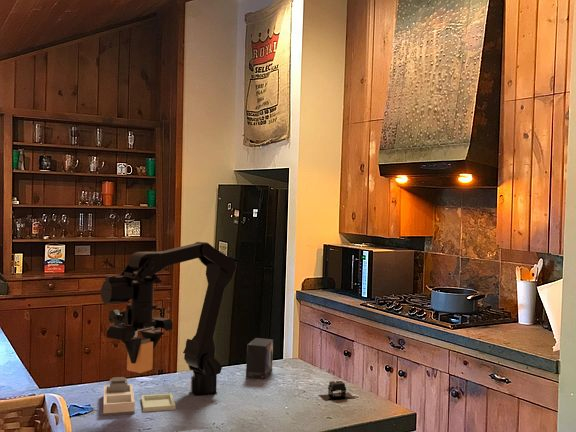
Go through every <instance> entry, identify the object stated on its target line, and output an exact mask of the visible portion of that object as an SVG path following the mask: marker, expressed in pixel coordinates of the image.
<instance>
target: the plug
mask: <svg viewBox="0 0 576 432" xmlns="http://www.w3.org/2000/svg"><path fill="white" fill-rule="evenodd" d="M138 337H139V338H141V343H140V347H139V351H138V356H137V359H136V362H135V363H131V360H130V357H129V354H128V353H127V358H126V361H127V362H126V370H127V371H129V372H133V373H139V374H142V373H145V372H148V371H151V370H153V364H154V363H153V360H154V359H153V358H154V350H153V342H152V341H150V339H149V338H143V336H142V337H141V336H138Z"/></svg>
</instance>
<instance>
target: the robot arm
mask: <svg viewBox="0 0 576 432" xmlns="http://www.w3.org/2000/svg"><path fill="white" fill-rule="evenodd" d="M194 259H198V260H199V261H200V263H201V264H203V265H204V266H205V275H206V276H205V277H206V281H207V288H206V292H205V296H204V299H203V300H204V301H203V303H202V304H203V305H202V308H201V313H200V316H199V321H198V325H197V329H196V333H195V334H194V336H193V337H192V338H191V339H190V338H187V339H186V341H185V348H184V350H183V351H182V354H184V357H183V358H184V359H183V360H184V361H185V363H186V364H187V365H188V369H189V370H190V371H192V376H191V377H190V392H191V394H193V395H194V397H197V396H198V397H200V396H201V397H203V396H212V395H213V396H215V395H218V394H219V393H218V391H217V381H218V379H217V375H219V374H221V372H222V368H223V365H221V363H220V362H219V361H218V360H217V359H216V357H215V356H216V344H215V341H214V336H215V331H216V327H217V323H218V319H219V315H220V311H221V310H220V309H221V306H222V302H223V298H224V292H225V289H226V288H227V286H228V285H229V284H230V283H231V281H232V280H233V278H234V275H235V273H236V270H237V262H236V261H235V259H234V258H233V257H232V256H228V255H227V254H225V253H223V252H221V251H220V250H218V249H217V248H215V247H214V246H213V245H211V244H210V243H209V242H204V241H196V242H195V243H194V242H193V243H191V244H186V245H182V246H179V247H175V248H174V247H173V248H169V249H165V250H162V251H136V252H134V253H131V256H130V257H129V258H128V263H127V264H126V265H125V267H124V268H123V270H122V271H121V273H120V274H119V275H118V276H112V275H106V276H105V277H104V278H105V280H104V281H103V282H102V285H101V287H100V298H101V300H102V302H103V304H105V305H110V304H119V303H120V304H121V303H128V302H130V303H129V304H127V305H126V306H125V310H123V311H120V310H119V309H111V310H109V312H108V320H109V323H110V324H113V325H109V327H108V328H107V329H106V338H109V339H114V340H120V341H122V342H123V344H124V345H125V348H126V351H127V355H128V354H129V357H130V360H131V363H135V362H136V359H137V356H138V351H139V347H140V343H141V338H139V337H140V336H138V334H139V333H140V334H141V336H142V337H143V338H149V339H150V341H152V342H153V351H154V350H155V347H156V345H158V342H159V341H160V339H161V337H162V336H164V335H165V333H164V332H168V331H172V330H174V329H173V328H174V326H173V325H174V323H173V321H172V320H171V318H166V317H159V316H158V317H154V310H157V308H158V307H157V305H158V304H154V295H155V294H154V293H155V284H162V282H163V280H161V279H160V278H159V277H158V276H157V274H158V273H159V272H161V271H163V270H164V269H165V268H167V267H169V266H173V265H176V264H180V263H184V262H187V261H191V260H192V261H193V260H194ZM160 328H161V329H163V330H164V331H161V329H160Z"/></svg>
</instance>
